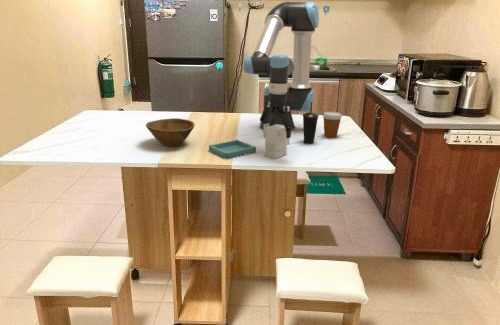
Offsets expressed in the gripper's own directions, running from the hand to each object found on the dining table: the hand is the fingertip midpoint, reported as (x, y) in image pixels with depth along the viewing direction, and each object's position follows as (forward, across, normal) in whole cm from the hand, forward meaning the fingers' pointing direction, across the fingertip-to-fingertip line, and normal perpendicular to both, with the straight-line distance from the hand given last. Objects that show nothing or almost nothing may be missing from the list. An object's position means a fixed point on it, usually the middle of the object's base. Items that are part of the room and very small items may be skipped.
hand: (275, 141), depth 178 cm
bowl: (+7, -41, -30) cm, 51 cm away
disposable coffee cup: (+6, -6, +43) cm, 44 cm away
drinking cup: (+6, -5, +26) cm, 28 cm away
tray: (+7, -15, -13) cm, 21 cm away
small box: (+7, 0, 0) cm, 7 cm away
